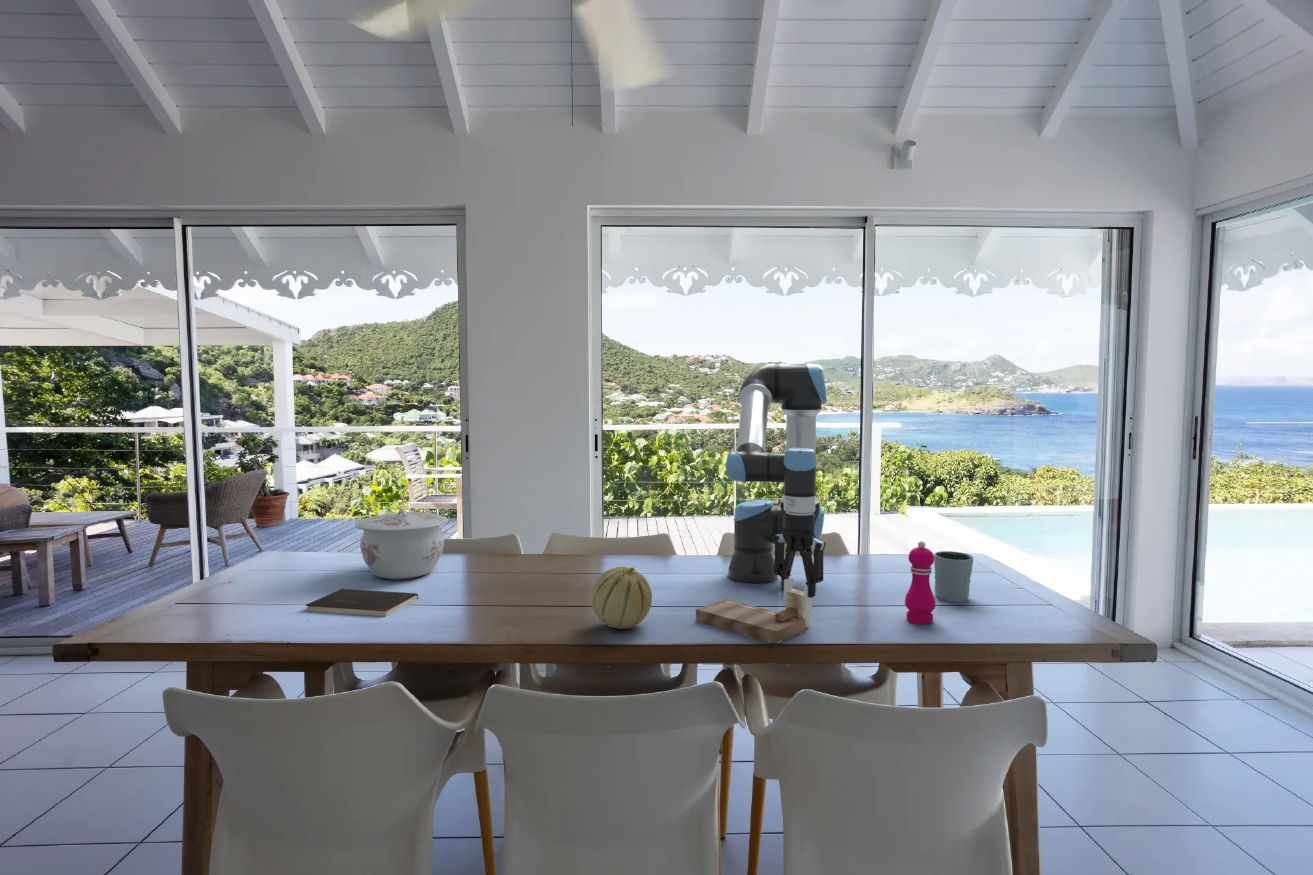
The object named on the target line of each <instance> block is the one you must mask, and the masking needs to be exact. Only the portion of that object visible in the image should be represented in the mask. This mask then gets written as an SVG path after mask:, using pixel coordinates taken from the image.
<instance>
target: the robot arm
mask: <svg viewBox="0 0 1313 875" xmlns="http://www.w3.org/2000/svg"><path fill="white" fill-rule="evenodd" d="M823 369H824V368H823V367H822V366H821V365H820V364H817V363H816V364H815V363H806V362H805V363H769V364H764V365H762V366H760V367H758V368H756V369H754V370H753V371H752V372H751V373H750V374H749V375H747V377H746V378H745V379H744V381H743V382H742V384H741V386H740V388H739V393H738V401H739V405H740V407H741V408H740V416H739V423H738V434H737V442H736V450H735V451H730V452H728V454H727V456H726V476H727V479H728V480H730V481H736V482H742V483H745V482H748V483H749V482H750V483H753V482H756V483H761V482H762V483H783V484H784V485H783V487H784V488H783V496H782V497H781V498H780V500H779V501H780V502H779V505H774V502H773V501H774V500H771V499H755V500H748V501H747V500H746V501H743V502H740V503H739V504H737V505H736V506H735V508H734V518H733V521H734V530H733V532H734V534H733V535H734V537H733V538H734V539H733V554H732V556H731V560H730V562H729V566H728V569H727V576H728V578H729V579H731V580H733V581H736V582H741V583H749V584H763V583H771V582H774V581H776V580H778V578H779V577H780V579H781V582H780V587H781V591H782V592H783V607H786V591H788V590H791V589H794V587H793V581H794V580H793V577H792V574H791V573H792V568H793V564H794V561H795V557H796V553H797V552H799V555H800V557H801V560H802V565H803V570H804V574H805V580H806V582H804V583H803V591H804V611H809V610H810V611H811V610H813V605H814V602H813V600H814V597H816V586H817V584H818V583H821V582H824V550H825V548H826V544H827V542H826V541H824V540H821V538H822V534H823V528H824V520H825V514H826V513H825V507H824V506H822V505H821V504H820V503H821V502H820V501H821V500H820V499H819V498H818V497H817V496H816V483H817V482H816V478H817V454H816V445H817V444H816V443H817V441H816V440H817V439H816V438H817V436H816V435H817V415H818V414H819V413H820V412H821V411H822V405H824V404H827V402H828V401H827V390H826V389H827V388H826V381H825V374H824V373H825V372H824V370H823ZM772 404H781V411H782V412H783V413H784V414H785V415H786V428H785V429H786V432H785V433H786V434H785V435H786V437H785V438H786V440H785V443H786V444H785V451H784V452H766V444H767V443H766V442H767V432H768V430H767V429H768V413H769V407H770V406H771V405H772ZM785 545H786V546H785ZM773 546H774V553H773ZM812 549H813V550H812ZM812 554H813V556H812Z"/></svg>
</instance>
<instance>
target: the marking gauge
mask: <svg viewBox="0 0 1313 875" xmlns="http://www.w3.org/2000/svg"><path fill="white" fill-rule="evenodd" d="M777 612H778V613H775V620H779V621H785V620H787V619H790V618H792V617H799V618H803V619H805V628H807V627H809V626H810V624H811V610H809V611H804V590H801V589H795V588H793V589H791V590H788V591H786V606H785V609H783V610H780V611H777Z"/></svg>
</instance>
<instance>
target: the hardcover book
mask: <svg viewBox="0 0 1313 875" xmlns="http://www.w3.org/2000/svg"><path fill="white" fill-rule="evenodd" d="M416 600H419V594H418V593H417V592H402V591H388V590H387V591H384V590H383V591H382V590H369V589H368V590H367V589H353V588H341V589H339V590H337V591H334V592H332V593H328V594H327V595H325V596H324V595H323V597H320V598H318V599H316V600H313V601H310V602H309V603H307V604H305V607H307V611H308V612H321V613H332V614H334V613H335V614H347V615H349V614H350V615H362V616H363V615H365V616H377V617H379V616H380V617H387V616H389V615H391V614H393V613H395V612H397V611H399V610H400V609H402V608H404V607H405V606H407V605H409V604H411V603H413V602H414V601H416Z"/></svg>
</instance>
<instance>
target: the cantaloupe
mask: <svg viewBox="0 0 1313 875" xmlns="http://www.w3.org/2000/svg"><path fill="white" fill-rule="evenodd" d="M652 598H653V593H652V588H651V586H650V583H649V582H648V580H647V578H646V577H645V576H644V575H643V574H642V573H641V572H639V571H637V570H635V567H633V566H632V567H627V566H617V567H613V568H609V569H607V570H606V571H604V572H603V573H602V574H601V575H599V577H598V578H597V579H596V582H595V583H594V586H593V588H592V593H591V607H592V610H593V612H594V614H595V616H596V617H597V618H598V619H599V621H600V622H602V623H603V624H605V625H606V626H608V627H609V628H613V629H619V630H627V629H630V628H634V627H636V626H637V625H639V624H641V623H642V622H643V621H644V620H645V619H646V617H647V615H648V614H649V612H650V610H651V607H652V602H653V601H652V600H653V599H652Z"/></svg>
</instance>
